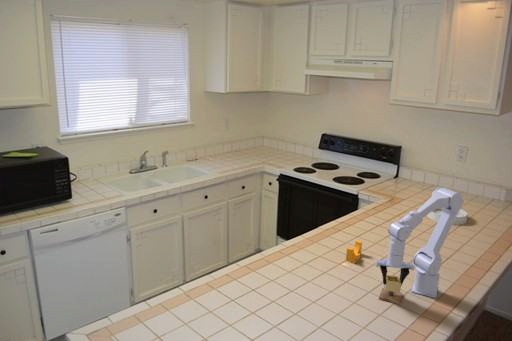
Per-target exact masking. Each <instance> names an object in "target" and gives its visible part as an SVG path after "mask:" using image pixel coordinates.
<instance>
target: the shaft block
mask: <svg viewBox="0 0 512 341" xmlns="http://www.w3.org/2000/svg"><path fill="white" fill-rule="evenodd" d="M378 295H379V296H378V300H381V301H384V302H387V303H392V304H396V305H400V303H401V301H402V298H403V292H401V291H400V292H392V291H385V288H384V287H382V288H381V291H380V293H379V294H378Z"/></svg>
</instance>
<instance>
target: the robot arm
mask: <svg viewBox="0 0 512 341" xmlns="http://www.w3.org/2000/svg"><path fill="white" fill-rule="evenodd" d="M464 201H465V200H464V197H463V195H462V194H461V193H460V192H458V191H454V190H451V189H449V188H446V187H444V186H438V187H437V188H436V189H435V190H433V191H432V193H431V197H430V198H429V199H427V201H426V202H425V203H423V204H422V205H421V206H420V207H418V209H417V210H411V211H409V212H408V213H407V214H406V215H405V216H404V217H402V218H401V219H400V220H398V221H395V222H394V221H393V222H392V223H391V224H390V225H389V227H388V228H387V233H388V235H389V246H388V255H387V259H375V263H374V264H375V267H377V268H379V269H380V271H381V274H382V283H383V285H384V284H386V275H388V268H393V269H400V275H399V278H400V281H401V287H403V286H402V285H403V284H404V281H405V279H406V278H407V277H408V275H409V274H410V270H411V271H414V270H415V274H414V282H413V284H412V287H411V292H412V293H415V294H418V295H422V296H427V297H430V298H435V299H436V298H437V293H438V292H439V282H440V276H441V274H440V273H439V271H440V270H441V264H442V261H443V258H442V256H441V253H440V252H441V249H442V248H443V245H444V244H445V241H446V239H447V237H448V236H449V232H450V230H451V228H452V227H453V226H454V225H453V223H454V221H455V219H456V217H457V214H458V212H459V210H460V209H462V206H463V204H464ZM438 207H441V209H442V214H441V216H440V218H439V220H438V222H437V223H436V225H435V227H434V229H433V231H432V234H431V235H430V237H429V239H428V242H427V243H426V246H424V247H420V248H419V249H418V251H417V252H416V253H415V254H414V256H413V260H412V263H411V262H406V261H404V255H405V249H406V241H407V240H408V239H409V237H411V234H412V232H413V230H415V229H416V228H417V227H418V226H420V225H421V224H422V223H423V221H424V217H426V216H427V215H428V214H429V213H431V212H432V211H433V210H435V209H436V208H438Z"/></svg>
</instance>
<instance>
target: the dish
mask: <svg viewBox="0 0 512 341" xmlns="http://www.w3.org/2000/svg"><path fill="white" fill-rule="evenodd" d="M441 214H442V209H441V207H438V208H436V209H435V210H433V211H432V212H431V213H429V214H428V215H426V216H427V217H428V219H430V220H432V221H434V222H437V223H438V220H439V218H440V216H441ZM467 216H468V213H467V211H465V210H464V209H462V208H460V210H459V212H458V214H457V217H456V219H455V221H454V223H453V225H452V226H458V225H459V226H460V225H465V224H466V223H467V221H468V220H467Z"/></svg>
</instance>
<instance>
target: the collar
mask: <svg viewBox="0 0 512 341" xmlns="http://www.w3.org/2000/svg"><path fill="white" fill-rule="evenodd" d="M401 287H402V286H401V281H400V275H399V276H397V275H389V274H387V275H386V284H383V288H385V291H392V292H401V289H402V288H401Z"/></svg>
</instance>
